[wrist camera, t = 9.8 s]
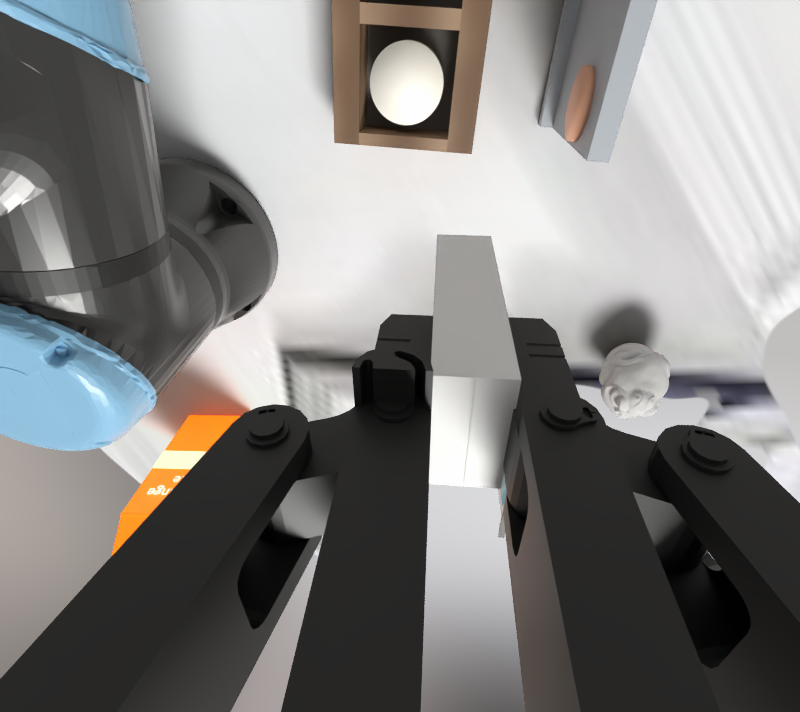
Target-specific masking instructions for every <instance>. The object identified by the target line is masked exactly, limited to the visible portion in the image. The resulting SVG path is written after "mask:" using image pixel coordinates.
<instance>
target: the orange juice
mask: <svg viewBox="0 0 800 712" xmlns="http://www.w3.org/2000/svg"><path fill="white" fill-rule="evenodd" d="M239 417H240V416H221V415H189V416H188V418H187V419H186V421H185V422H184V423H183V425H182V426H181V428H180V429H179V431H178V432H177V434H176V435H175V436H174V438H173V439H172V441H171V442H170V444H169V445H168V447H167V448H166V449H165V451H163V453H162V454H161V456H160V457H159V459H158V460H157V462H156V463H155V464H154V466H153V467H152V470H151V471H150V473H149V474H148V476H147V477H146V478H145V480H144V481H143V483H142V484H141V486H140V487H139V489H138V490H137V491H136V493H135V495H134V496H133V497H132V499H131V500H130V502H129V503H128V505H127V506H126V507H125V509H124V510H123V512H122V513H121V515H120V516H121V519H120V523H119V527H118V531H117V535H116V539H115V544H114V548H113V552H112V555H113V554H114V553H115V552H116V551H117V550H118V549H119V548H120V547H121V546H122V544H123V543H124V542H125V541H126V540H127V539H128V538H129V537H130V536H131V534H132V533H133V532H134V531H135V530H136V529H137V528H138V527H139V526H140V525H141V523H142V522H143V521H144V520H145V519H146V518H147V517H148V516H149V515H150V514H151V512H152V511H153V510H154V509H155V508H156V507H157V506H158V505H159V504H160V502H161V501H162V500H163V499H164V498H165V497H166V496H167V495H168V494H169V493H170V491H171V490H172V489H173V488H174V487H175V486H176V485H177V484H178V483H179V482H180V480H181V479H182V478H183V477H184V476H185V475H186V474H187V473H188V472H189V470H190V469H191V468H192V467H193V466H194V465H195V464H196V463H197V462H198V461H199V459H200V458H201V457H202V456H203V455H204V454H205V453H206V452H207V451H208V450H209V448H210V447H211V446H212V445H213V444H214V443H215V442H216V441H217V440H218V439H219V437H220V436H221V435H222V434H223V433H224V432H225V431H226V430H227V429H228V427H229V426H230V425H231V424H232V423H233V422H234V421H235V420H237V419H238V418H239ZM111 557H112V556H111Z"/></svg>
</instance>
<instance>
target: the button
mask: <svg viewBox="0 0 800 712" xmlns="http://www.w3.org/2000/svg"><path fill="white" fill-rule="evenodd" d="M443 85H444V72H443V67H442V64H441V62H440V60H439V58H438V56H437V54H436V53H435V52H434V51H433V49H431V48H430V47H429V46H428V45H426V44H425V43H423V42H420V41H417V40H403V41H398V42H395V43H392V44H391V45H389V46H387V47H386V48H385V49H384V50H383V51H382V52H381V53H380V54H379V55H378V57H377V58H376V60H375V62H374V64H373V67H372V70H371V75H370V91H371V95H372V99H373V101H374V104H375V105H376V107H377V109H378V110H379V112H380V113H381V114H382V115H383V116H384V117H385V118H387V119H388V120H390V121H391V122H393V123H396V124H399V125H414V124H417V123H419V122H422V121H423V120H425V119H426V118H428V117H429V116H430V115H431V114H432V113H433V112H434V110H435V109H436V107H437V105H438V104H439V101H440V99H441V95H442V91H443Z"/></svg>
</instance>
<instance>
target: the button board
mask: <svg viewBox="0 0 800 712" xmlns="http://www.w3.org/2000/svg"><path fill="white" fill-rule="evenodd" d="M331 3H332V49H333V95H334V141H335V143H344V144H357V145H369V146H381V147H393V148H405V149H418V150H430V151H442V152H454V153H466V154H471V153H472V146H473V139H474V131H475V124H476V117H477V109H478V102H479V95H480V88H481V80H482V73H483V66H484V58H485V51H486V44H487V36H488V29H489V22H490V15H491V7H492V0H331ZM403 40H417V41H420V42H423V43H425V44H426V45H428V46H429V47H430V48H431V49H433V51H434V52H435V53H436V54H437V56H438V58H439V60H440V62H441V64H442V67H443V72H444V85H443V91H442V95H441V99H440V101H439V104H438V105H437V107H436V109H435V110H434V112H433V113H432V114H431V115H430V116H429V117H428V118H426V119H425V120H423V121H422V122H419V123H417V124H414V125H399V124H396V123H393V122H391V121H390V120H388V119H387V118H385V117H384V116H383V115H382V114H381V113H380V112H379V110H378V109H377V107H376V105H375V104H374V101H373V99H372V95H371V91H370V75H371V70H372V67H373V64H374V62H375V60H376V58H377V57H378V55H379V54H380V53H381V52H382V51H383V50H384V49H385V48H386V47H387V46H389V45H391V44H392V43H395V42H398V41H403Z"/></svg>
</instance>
